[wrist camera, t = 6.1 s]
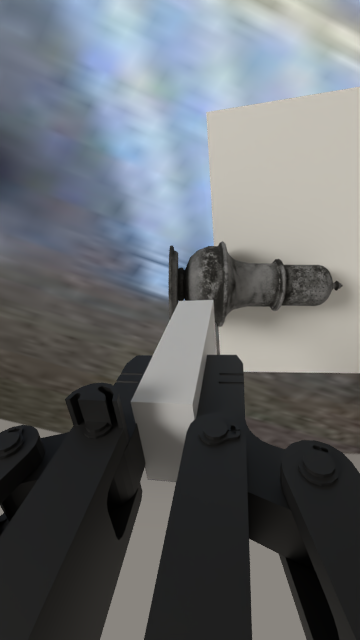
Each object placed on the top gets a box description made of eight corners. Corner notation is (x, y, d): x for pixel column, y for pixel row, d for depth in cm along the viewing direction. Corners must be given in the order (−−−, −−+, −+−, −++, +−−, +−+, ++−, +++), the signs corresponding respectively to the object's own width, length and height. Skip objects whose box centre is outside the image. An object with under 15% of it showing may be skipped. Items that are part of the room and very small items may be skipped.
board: (221, 368, 27) (221, 371, 27) (207, 113, 19) (206, 112, 19) (389, 370, 25) (391, 373, 24) (457, 72, 16) (462, 69, 16)
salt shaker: (169, 343, 20) (349, 345, 19) (167, 260, 16) (382, 261, 16) (172, 300, 25) (315, 301, 24) (171, 230, 21) (336, 231, 21)
